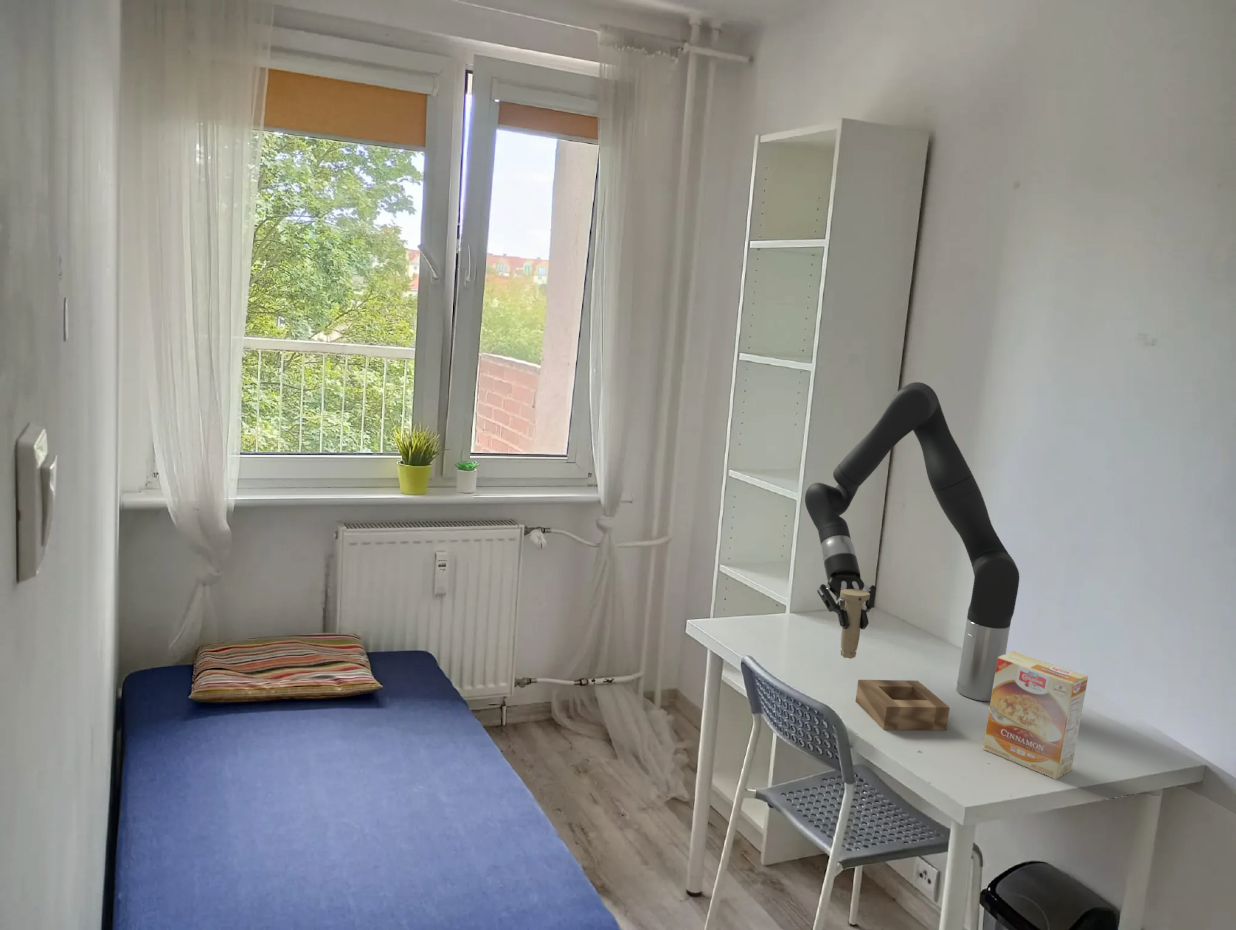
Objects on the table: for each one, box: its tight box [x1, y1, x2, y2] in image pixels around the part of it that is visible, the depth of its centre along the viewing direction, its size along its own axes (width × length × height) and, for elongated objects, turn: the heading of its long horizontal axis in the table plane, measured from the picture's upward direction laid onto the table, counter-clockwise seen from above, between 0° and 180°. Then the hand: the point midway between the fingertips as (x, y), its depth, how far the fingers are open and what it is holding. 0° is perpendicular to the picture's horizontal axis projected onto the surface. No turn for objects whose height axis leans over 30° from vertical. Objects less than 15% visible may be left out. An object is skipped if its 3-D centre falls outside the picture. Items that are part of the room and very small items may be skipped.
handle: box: [840, 589, 870, 659], centre depth 215 cm, size 5×6×15 cm
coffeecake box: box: [982, 651, 1089, 780], centre depth 187 cm, size 15×7×20 cm, turn 42°
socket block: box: [855, 679, 951, 731], centre depth 205 cm, size 14×14×5 cm
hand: (855, 627), depth 213 cm, fingers closed on handle, 3 cm apart
